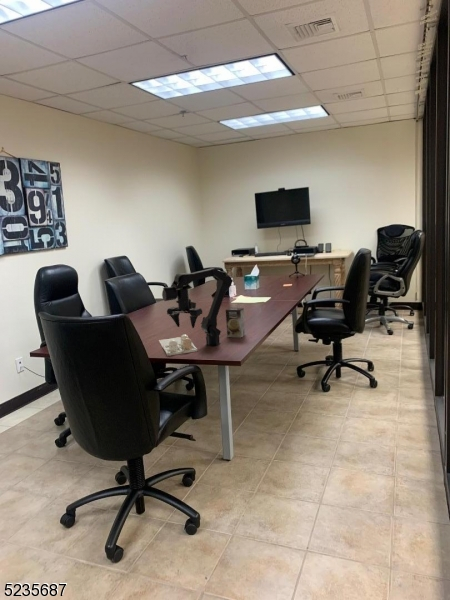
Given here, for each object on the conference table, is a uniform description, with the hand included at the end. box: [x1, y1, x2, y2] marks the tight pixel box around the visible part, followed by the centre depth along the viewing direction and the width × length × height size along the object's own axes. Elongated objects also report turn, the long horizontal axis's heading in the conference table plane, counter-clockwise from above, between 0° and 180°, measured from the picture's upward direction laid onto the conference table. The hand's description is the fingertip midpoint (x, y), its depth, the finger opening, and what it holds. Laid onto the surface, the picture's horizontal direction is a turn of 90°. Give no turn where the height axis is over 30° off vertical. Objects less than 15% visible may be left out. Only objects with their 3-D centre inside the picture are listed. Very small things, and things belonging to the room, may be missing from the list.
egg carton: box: [158, 336, 198, 357], centre depth 245 cm, size 32×16×2 cm, turn 16°
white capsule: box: [169, 340, 178, 353], centre depth 233 cm, size 4×4×7 cm
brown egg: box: [183, 338, 193, 351], centre depth 235 cm, size 4×4×7 cm
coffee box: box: [225, 307, 246, 338], centre depth 256 cm, size 9×6×16 cm
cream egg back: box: [180, 334, 189, 347], centre depth 242 cm, size 4×4×7 cm
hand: (185, 327), depth 233 cm, fingers open, 9 cm apart
